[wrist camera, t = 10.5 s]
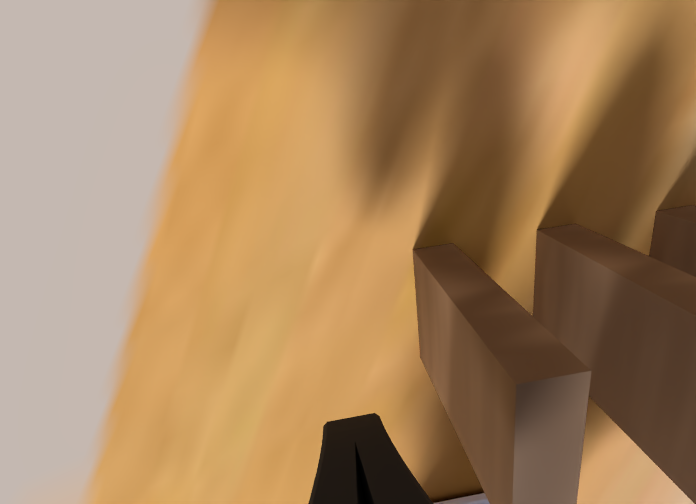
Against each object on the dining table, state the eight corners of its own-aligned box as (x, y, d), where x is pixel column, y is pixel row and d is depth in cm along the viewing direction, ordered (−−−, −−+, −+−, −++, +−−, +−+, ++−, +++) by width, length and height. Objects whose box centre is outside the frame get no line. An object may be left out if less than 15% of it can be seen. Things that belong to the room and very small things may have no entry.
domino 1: (453, 243, 16) (591, 370, 8) (456, 351, 18) (572, 535, 10) (412, 249, 16) (516, 384, 8) (420, 357, 17) (511, 549, 10)
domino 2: (575, 223, 16) (814, 329, 9) (566, 332, 18) (758, 497, 10) (536, 230, 16) (745, 342, 9) (532, 338, 18) (699, 509, 10)
